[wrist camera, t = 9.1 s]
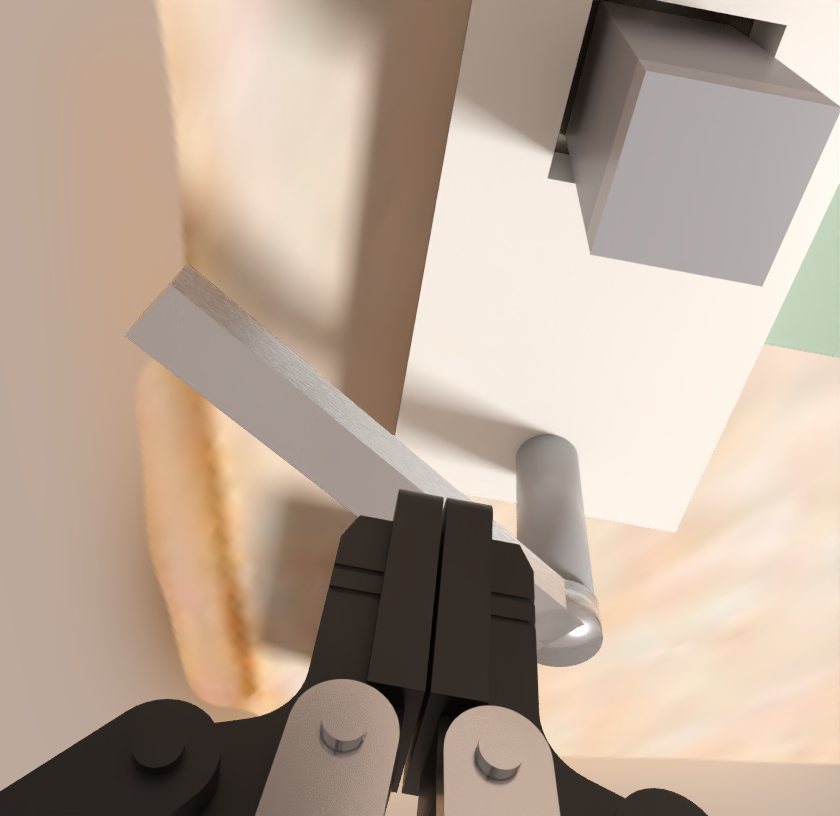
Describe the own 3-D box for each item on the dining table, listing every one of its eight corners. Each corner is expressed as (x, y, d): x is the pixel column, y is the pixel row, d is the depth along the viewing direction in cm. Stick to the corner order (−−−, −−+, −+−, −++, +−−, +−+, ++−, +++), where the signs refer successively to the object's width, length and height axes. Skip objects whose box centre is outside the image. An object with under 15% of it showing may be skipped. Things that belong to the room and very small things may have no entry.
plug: (600, 0, 25) (646, 70, 17) (732, 25, 25) (841, 107, 17) (565, 135, 27) (590, 254, 19) (686, 158, 27) (761, 286, 19)
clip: (616, 612, 25) (620, 642, 24) (551, 647, 26) (553, 677, 25) (194, 255, 19) (178, 276, 18) (136, 320, 21) (118, 343, 20)
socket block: (497, -135, 23) (491, -131, 15) (900, -56, 23) (1122, -8, 15) (395, 436, 35) (360, 619, 27) (663, 485, 35) (712, 682, 27)
